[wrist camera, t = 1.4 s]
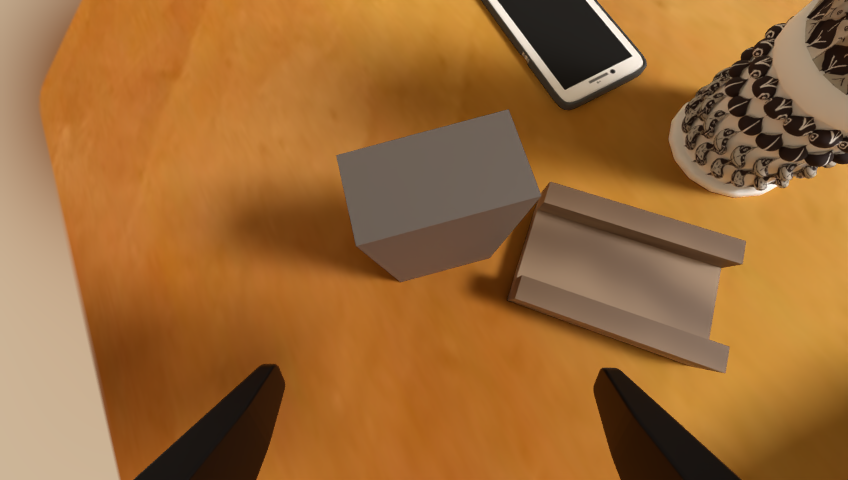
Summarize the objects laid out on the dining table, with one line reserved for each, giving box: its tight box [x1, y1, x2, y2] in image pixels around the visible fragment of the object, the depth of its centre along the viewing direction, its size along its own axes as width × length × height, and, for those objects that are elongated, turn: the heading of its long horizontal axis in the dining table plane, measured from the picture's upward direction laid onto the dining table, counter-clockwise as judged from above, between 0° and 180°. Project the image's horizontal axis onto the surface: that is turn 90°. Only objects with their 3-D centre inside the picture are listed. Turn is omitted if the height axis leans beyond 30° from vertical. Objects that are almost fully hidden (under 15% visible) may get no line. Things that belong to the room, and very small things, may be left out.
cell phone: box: [481, 0, 647, 110], centre depth 27 cm, size 8×15×1 cm, turn 27°
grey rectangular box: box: [336, 109, 541, 282], centre depth 17 cm, size 4×6×12 cm, turn 105°
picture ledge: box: [507, 182, 746, 373], centre depth 21 cm, size 8×12×2 cm, turn 70°
